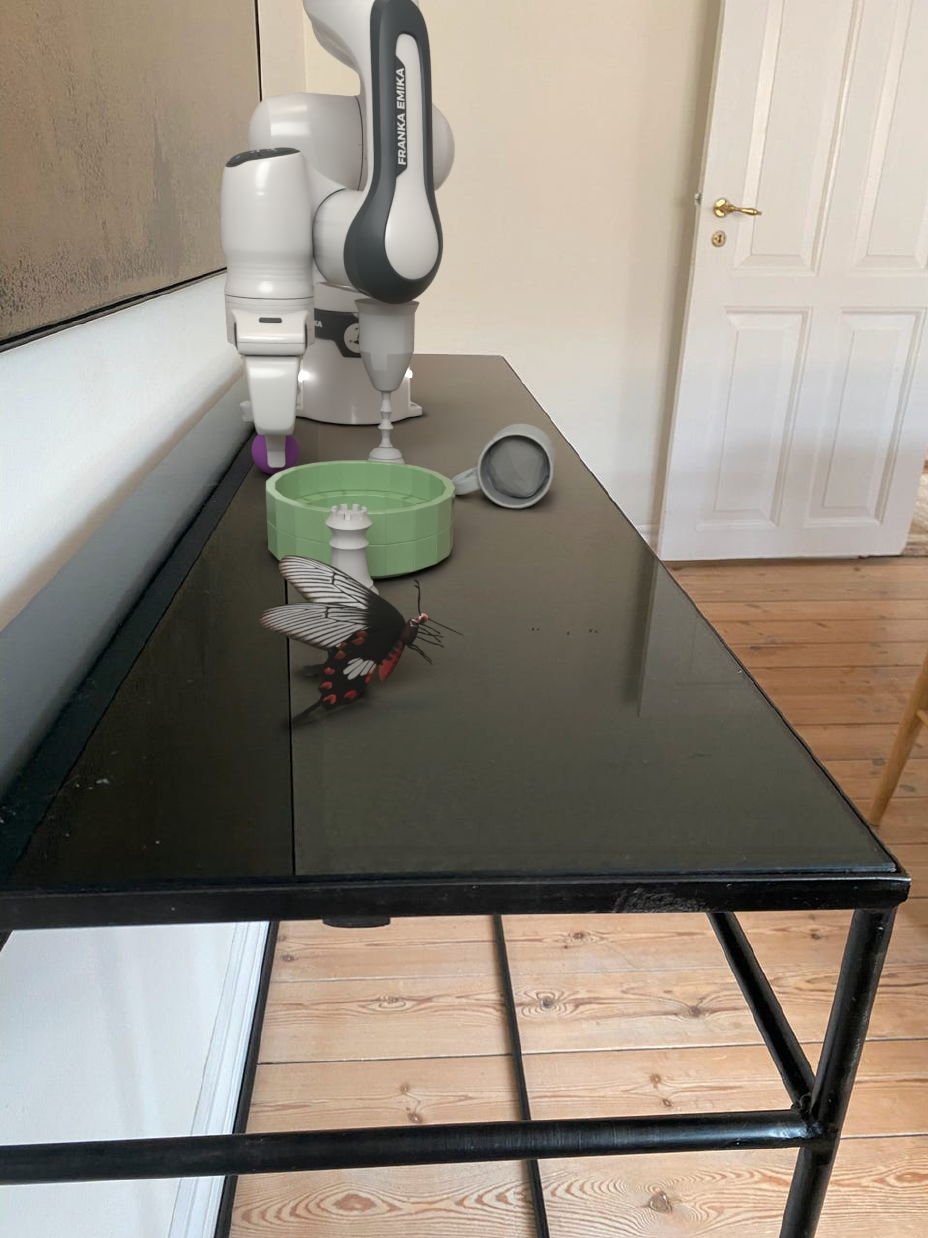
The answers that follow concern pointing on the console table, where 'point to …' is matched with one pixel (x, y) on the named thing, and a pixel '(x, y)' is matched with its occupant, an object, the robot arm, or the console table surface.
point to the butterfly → (342, 629)
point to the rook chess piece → (350, 542)
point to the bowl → (396, 504)
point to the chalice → (386, 358)
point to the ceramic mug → (512, 467)
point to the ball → (262, 460)
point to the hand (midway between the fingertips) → (276, 458)
